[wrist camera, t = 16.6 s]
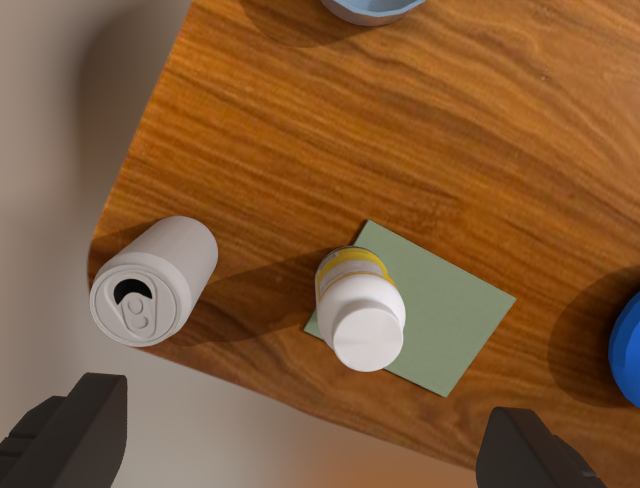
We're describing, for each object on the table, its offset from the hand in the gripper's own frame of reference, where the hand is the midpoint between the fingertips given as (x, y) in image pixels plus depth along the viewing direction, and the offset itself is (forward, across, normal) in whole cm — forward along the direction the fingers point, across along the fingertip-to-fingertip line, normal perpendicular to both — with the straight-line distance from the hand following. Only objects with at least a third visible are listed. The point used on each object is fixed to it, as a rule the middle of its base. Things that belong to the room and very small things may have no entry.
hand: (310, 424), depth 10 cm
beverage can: (+30, +9, +7) cm, 32 cm away
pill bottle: (+29, -6, +8) cm, 31 cm away
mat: (+30, -12, +11) cm, 33 cm away
